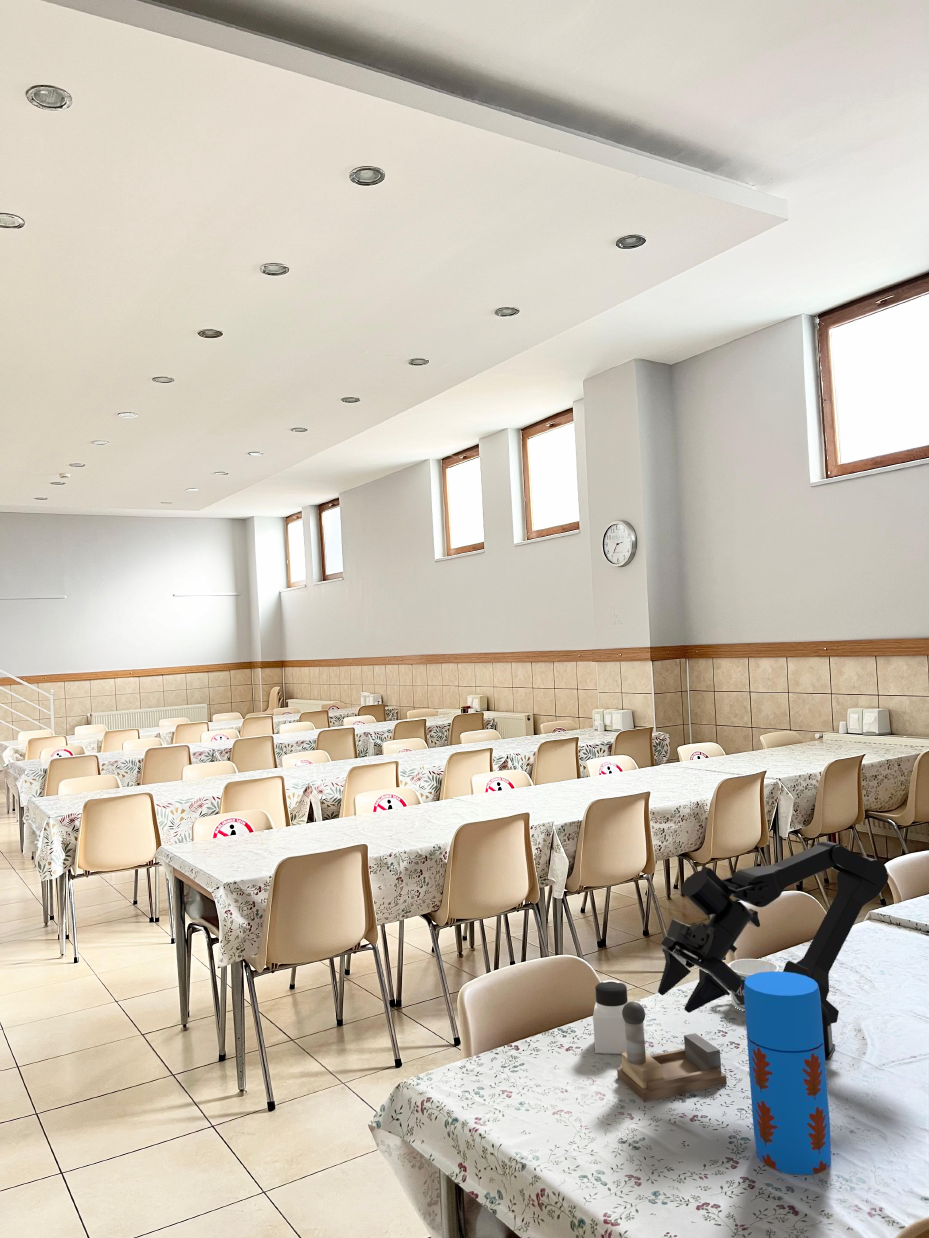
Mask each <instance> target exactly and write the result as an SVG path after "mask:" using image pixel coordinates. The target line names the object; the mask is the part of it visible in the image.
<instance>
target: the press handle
mask: <svg viewBox="0 0 929 1238" xmlns="http://www.w3.org/2000/svg"><path fill="white" fill-rule="evenodd" d="M622 1016H623V1019H624V1021H625V1031H626V1047H627V1052H625V1053H622V1054H621V1068H622V1069H623V1071H624V1072H625V1073H626V1074H627V1075H628V1076H629V1077H631V1078H632V1079H633V1080H634V1081H635V1082H636V1083H637V1084H638V1085H640V1086H641V1087H642V1088H643V1089H644V1088H647V1083H646V1082H651V1081H656V1080H660V1079H664V1077H663V1066H662V1065H661V1064H659V1063H658V1062H657V1061H656V1060H654V1059H653V1058H652V1057H651V1056H649V1054H648V1053H647V1052H646V1041H645V1040H646V1039H645V1028H644V1027H645V1026H644V1025H645V1024H644V1022H645V1019H646V1011H645V1008H644V1007H643V1005H641V1004H640V1003H639V1002H637V1001H629V1002H628V1003H627V1004H626V1005H625V1006H624V1007H623V1010H622Z"/></svg>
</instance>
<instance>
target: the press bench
mask: <svg viewBox="0 0 929 1238" xmlns="http://www.w3.org/2000/svg"><path fill="white" fill-rule="evenodd" d="M683 1041H684V1048H680V1049H675V1050H671V1051H670V1050H669V1051H665V1052H661V1053H660V1052H659V1053H655V1054H650V1055H649V1054H648V1055H649V1056H651V1057H652V1058H653V1059H654V1060H656V1061H657V1062H658V1063H659V1064H661V1065H662V1066H663V1077H664V1079H660V1080H656V1081H651V1082H646V1083H647V1088H644V1089H643V1088H642V1087H641V1086H640V1085H638V1084H637V1083H636V1082H635V1081H634V1080H633V1079H632V1078H631V1077H629V1076H628V1075H627V1074H626V1073H625V1072H624V1071H623V1069H622V1067H619V1068H617V1069H616V1073H617V1074H616V1075H617V1079H618V1080H620V1082H622V1083H623V1084H624V1085H625V1086H626V1087H627V1088H628V1089H630V1091H632V1092H633V1093H634V1094H635V1095H636V1096H637V1097H639V1099H641V1100H642V1101H643V1102H644V1103H646V1102H651V1101H655V1100H659V1099H663V1098H664V1099H666V1098H669V1097H674V1096H678V1095H682V1094H687V1093H691V1092H692V1093H693V1092H697V1091H702V1090H705V1089H706V1090H707V1089H710V1088H711V1089H712V1088H715V1087H719V1086H720V1087H721V1086H726V1085H727V1084H728V1083H727V1082H728V1079H727V1075H726V1074H725V1073H724V1072H722V1062H721V1060H722V1059H721V1050H720V1049H719V1048H718V1047H717V1046H715V1045H714V1044H712V1043H710V1042H709V1041H708V1040H707V1039H705V1038H703V1036H702V1037H701V1036H700V1035H699V1034H697V1033H695V1032H693V1033H689V1034H685V1035H683Z"/></svg>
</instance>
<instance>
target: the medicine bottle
mask: <svg viewBox="0 0 929 1238" xmlns="http://www.w3.org/2000/svg"><path fill="white" fill-rule="evenodd" d="M628 1001H629V1000H628V987H627V985H626V984H625V983H624V982H621V981H619V980H612V979H609V980H603V981H601V982H599V983H597V984H596V986H595V1003H594V1010H593V1014H592V1022H593V1023H592V1024H593V1039H594V1041H593V1042H594V1052H595V1054H603V1055H604V1054H605V1055H622V1053H625V1052H627V1047H626V1031H625V1021H624V1019H623V1016H622V1010H623V1007H624V1006H625V1005H626V1004H627V1003H628Z"/></svg>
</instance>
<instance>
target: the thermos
mask: <svg viewBox="0 0 929 1238" xmlns="http://www.w3.org/2000/svg"><path fill="white" fill-rule="evenodd" d="M744 1002H745V1012H744V1016H745V1028H746V1041H747V1055H748V1056H747V1057H748V1058H747V1059H748V1070H749V1082H750V1083H749V1085H750V1099H751V1111H752V1112H751V1113H752V1124H753V1125H752V1126H753V1134H754V1143H755V1150H756V1154H757V1157H758V1158H759V1160H760V1161H761V1162H762V1163H763V1164H764V1165H766V1166H767V1167H770V1168H772V1169H774V1170H776V1171H778V1172H782V1173H785V1174H790V1175H798V1174H804V1176H808V1175H807V1174H809V1175H815V1173H816V1174H819V1173H821V1172H824V1171H826V1170H827V1169H828V1167H830V1166H831V1164H832V1150H831V1149H832V1147H831V1146H832V1144H831V1139H832V1138H831V1121H830V1107H829V1095H828V1093H829V1091H828V1083H827V1080H828V1079H827V1067H826V1059H825V1052H824V1039H823V1026H822V1013H821V1000H820V992H819V987H818V984H817V983H816V982H815V981H814V980H813V979H811V978H809V977H807V976H804V975H800V974H796V973H790V972H783V971H779V972H775V971H770V972H760V973H756V974H753V975H750V976H749V977H747V978H746V979H745V983H744ZM813 1173H814V1174H813ZM805 1174H806V1175H805Z"/></svg>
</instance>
